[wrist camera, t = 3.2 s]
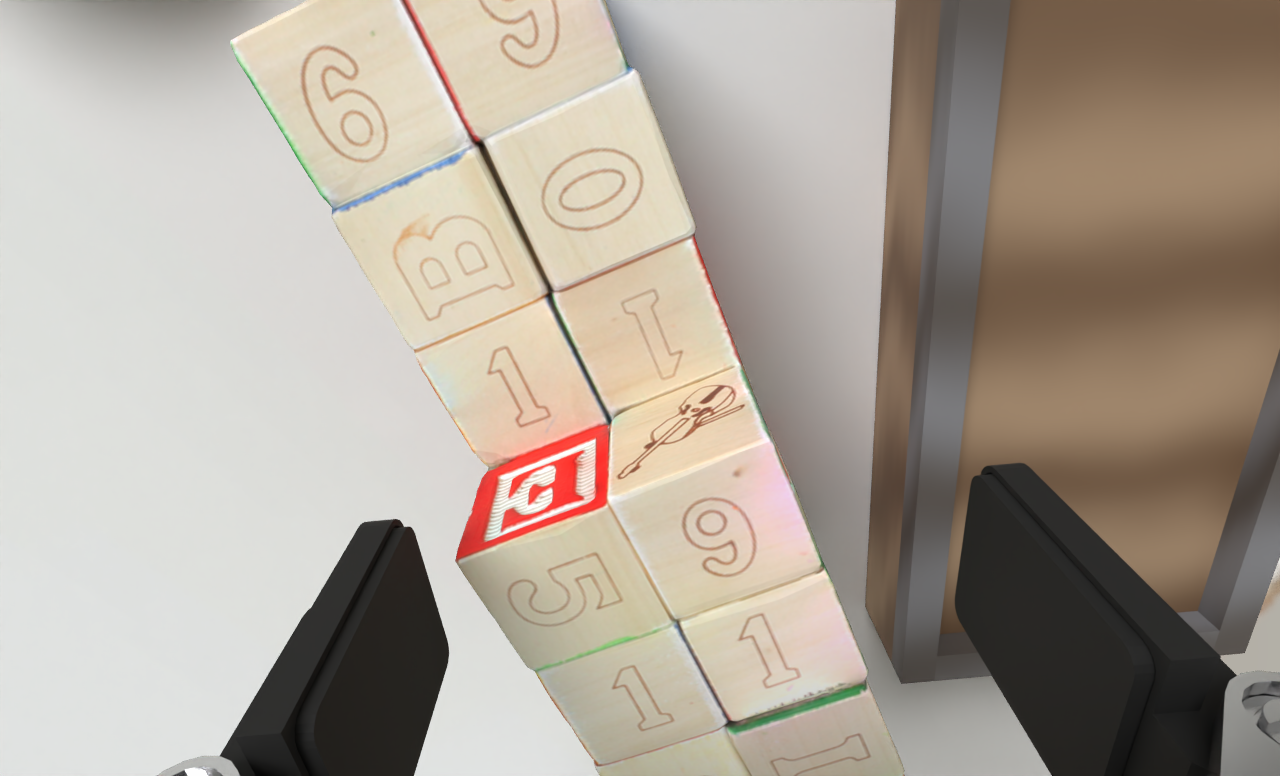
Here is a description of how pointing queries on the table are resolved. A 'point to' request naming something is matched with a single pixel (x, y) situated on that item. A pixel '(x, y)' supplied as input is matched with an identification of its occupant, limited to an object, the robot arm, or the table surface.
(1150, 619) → the robot arm
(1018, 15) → the wooden tray
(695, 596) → the stack of blocks
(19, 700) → the table surface
